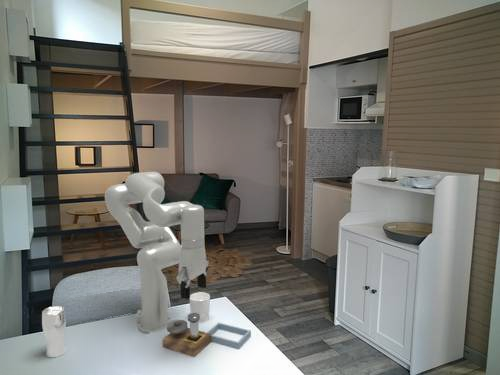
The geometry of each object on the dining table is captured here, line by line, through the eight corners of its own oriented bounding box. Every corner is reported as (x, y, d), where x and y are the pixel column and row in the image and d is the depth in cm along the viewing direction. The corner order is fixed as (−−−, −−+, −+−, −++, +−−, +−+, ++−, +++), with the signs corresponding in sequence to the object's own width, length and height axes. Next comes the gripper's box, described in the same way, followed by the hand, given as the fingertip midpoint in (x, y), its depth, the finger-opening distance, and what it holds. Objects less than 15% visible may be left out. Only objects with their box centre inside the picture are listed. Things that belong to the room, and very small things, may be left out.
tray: (204, 342, 137) (204, 334, 136) (218, 330, 145) (218, 322, 145) (238, 351, 131) (238, 343, 131) (250, 338, 139) (250, 330, 139)
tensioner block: (160, 349, 132) (159, 327, 131) (178, 335, 141) (177, 314, 140) (194, 359, 126) (194, 337, 125) (211, 344, 135) (210, 323, 134)
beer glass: (72, 348, 132) (69, 307, 130) (56, 360, 126) (53, 316, 124) (56, 345, 135) (53, 304, 132) (39, 356, 128) (36, 313, 126)
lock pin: (186, 348, 131) (185, 316, 130) (192, 342, 135) (192, 312, 133) (196, 351, 130) (195, 319, 128) (202, 345, 133) (202, 314, 132)
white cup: (206, 326, 148) (206, 301, 146) (187, 324, 149) (186, 299, 148) (212, 316, 156) (212, 293, 154) (193, 314, 157) (193, 291, 156)
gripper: (197, 235, 136) (198, 281, 139) (167, 248, 121) (168, 300, 123) (216, 237, 133) (216, 285, 136) (187, 251, 118) (188, 305, 120)
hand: (193, 292), depth 129 cm, fingers open, 9 cm apart
